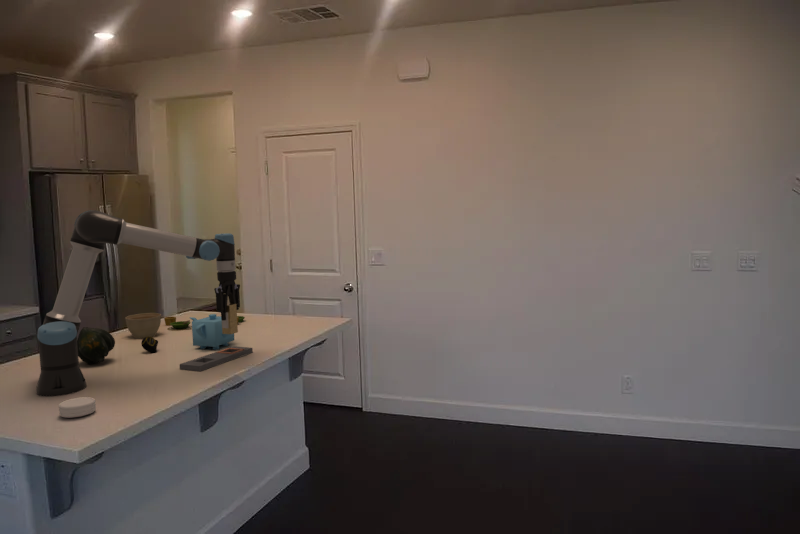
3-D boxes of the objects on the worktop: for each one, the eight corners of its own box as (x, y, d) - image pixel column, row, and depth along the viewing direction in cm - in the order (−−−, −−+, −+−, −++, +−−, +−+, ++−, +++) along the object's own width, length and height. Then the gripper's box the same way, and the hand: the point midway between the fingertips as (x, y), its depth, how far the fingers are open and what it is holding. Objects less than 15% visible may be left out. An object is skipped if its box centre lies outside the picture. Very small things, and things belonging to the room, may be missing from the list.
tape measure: (152, 355, 263) (157, 350, 262) (138, 348, 260) (143, 342, 259) (155, 346, 269) (160, 340, 268) (141, 338, 265) (146, 333, 264)
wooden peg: (231, 334, 250) (229, 305, 249) (222, 333, 251) (220, 305, 250) (237, 332, 254) (236, 303, 253) (229, 331, 255) (227, 303, 254)
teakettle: (196, 353, 260) (194, 319, 258) (190, 345, 277) (188, 313, 275) (240, 348, 268) (239, 315, 267) (232, 340, 285) (230, 309, 284)
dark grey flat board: (200, 371, 230) (199, 365, 229) (179, 369, 234) (179, 363, 233) (252, 352, 259) (252, 347, 258) (233, 350, 263) (233, 345, 262)
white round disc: (58, 411, 187) (57, 400, 186) (94, 405, 192) (93, 394, 192) (60, 420, 178) (59, 408, 178) (97, 413, 183) (96, 402, 183)
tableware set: (154, 334, 308) (153, 321, 308) (172, 323, 336) (171, 312, 336) (236, 331, 310) (235, 319, 310) (247, 321, 338) (246, 310, 337)
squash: (75, 369, 238) (72, 331, 236) (79, 361, 251) (76, 325, 250) (114, 365, 243) (112, 328, 242) (117, 357, 257) (114, 322, 255)
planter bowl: (123, 337, 298) (121, 315, 297) (157, 333, 308) (155, 311, 307) (131, 342, 285) (129, 320, 284) (166, 337, 295) (165, 315, 294)
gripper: (219, 273, 241) (223, 331, 243) (247, 268, 257) (250, 323, 259) (204, 273, 244) (208, 330, 246) (232, 268, 260) (236, 322, 262)
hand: (229, 326), depth 252 cm, fingers closed on wooden peg, 4 cm apart
